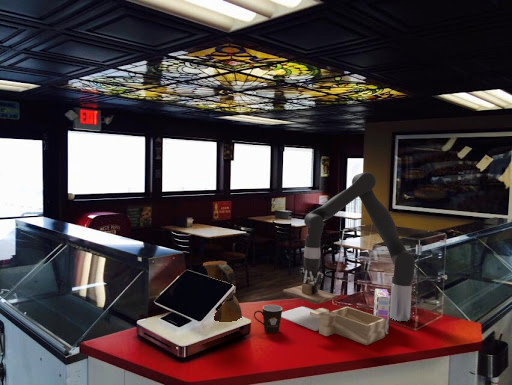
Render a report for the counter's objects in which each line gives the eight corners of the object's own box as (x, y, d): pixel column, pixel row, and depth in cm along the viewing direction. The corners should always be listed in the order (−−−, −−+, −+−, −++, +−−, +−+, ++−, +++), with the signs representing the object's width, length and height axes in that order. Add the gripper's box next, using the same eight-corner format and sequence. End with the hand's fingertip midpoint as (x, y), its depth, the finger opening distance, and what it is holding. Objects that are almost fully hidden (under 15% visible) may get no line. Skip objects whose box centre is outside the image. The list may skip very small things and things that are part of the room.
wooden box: (346, 323, 201) (347, 306, 200) (384, 337, 186) (386, 318, 186) (318, 333, 187) (319, 315, 187) (358, 349, 173) (359, 329, 172)
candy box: (388, 334, 189) (390, 297, 188) (374, 332, 191) (376, 296, 190) (385, 323, 203) (387, 289, 202) (372, 322, 204) (374, 287, 203)
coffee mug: (283, 328, 191) (284, 306, 190) (278, 335, 183) (279, 312, 182) (258, 324, 194) (259, 302, 194) (252, 331, 186) (253, 308, 186)
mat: (302, 307, 221) (302, 306, 221) (342, 321, 203) (343, 320, 203) (275, 315, 208) (275, 314, 208) (315, 331, 190) (315, 330, 190)
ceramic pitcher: (215, 319, 199) (218, 254, 197) (251, 330, 187) (254, 262, 185) (185, 331, 183) (187, 261, 181) (221, 344, 171) (224, 270, 169)
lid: (303, 289, 218) (303, 277, 217) (337, 300, 202) (338, 287, 202) (282, 294, 208) (283, 281, 207) (316, 306, 192) (317, 292, 192)
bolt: (321, 311, 187) (321, 307, 187) (329, 313, 184) (329, 310, 184) (309, 315, 182) (309, 311, 182) (317, 317, 179) (317, 314, 179)
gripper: (295, 254, 206) (293, 289, 207) (318, 260, 196) (316, 297, 197) (305, 252, 211) (303, 287, 213) (329, 258, 201) (327, 294, 202)
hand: (310, 291), depth 205 cm, fingers closed on lid, 4 cm apart
